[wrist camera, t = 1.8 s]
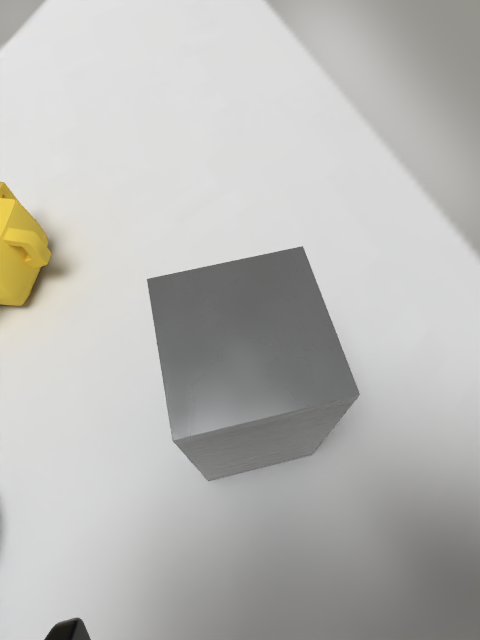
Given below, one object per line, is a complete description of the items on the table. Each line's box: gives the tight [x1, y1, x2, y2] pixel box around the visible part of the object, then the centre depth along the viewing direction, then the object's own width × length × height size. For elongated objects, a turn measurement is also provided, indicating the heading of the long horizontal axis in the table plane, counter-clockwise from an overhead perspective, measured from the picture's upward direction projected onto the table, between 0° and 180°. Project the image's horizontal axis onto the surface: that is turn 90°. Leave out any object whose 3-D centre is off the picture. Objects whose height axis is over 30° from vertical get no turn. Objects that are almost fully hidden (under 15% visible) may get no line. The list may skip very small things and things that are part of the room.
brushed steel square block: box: [147, 246, 360, 481], centre depth 17 cm, size 5×5×10 cm
